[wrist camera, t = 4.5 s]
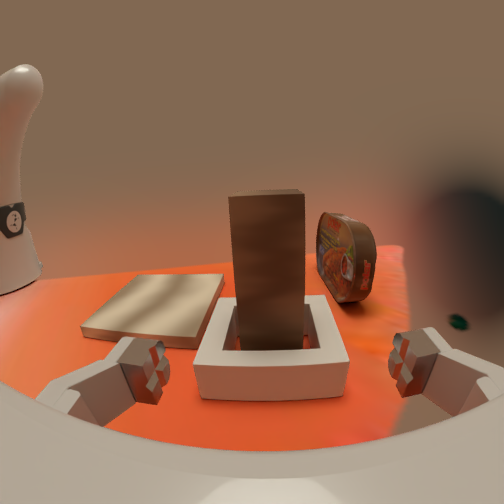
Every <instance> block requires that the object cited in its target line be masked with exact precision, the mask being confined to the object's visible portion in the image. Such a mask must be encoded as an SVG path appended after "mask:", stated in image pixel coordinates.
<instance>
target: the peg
mask: <svg viewBox="0 0 504 504" xmlns="http://www.w3.org/2000/svg"><path fill="white" fill-rule="evenodd" d="M228 199H229V214H230V227H231V241H232V255H233V267H234V280H235V292H236V303H237V315H238V326H239V337H240V347H241V351H273V350H301V349H303V330H304V302H305V197H304V193H302V192H301V191H299V190H298V189H287V190H261V191H260V190H259V191H239V192H236V193H234V194H232V195H231V196H229V197H228Z"/></svg>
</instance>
